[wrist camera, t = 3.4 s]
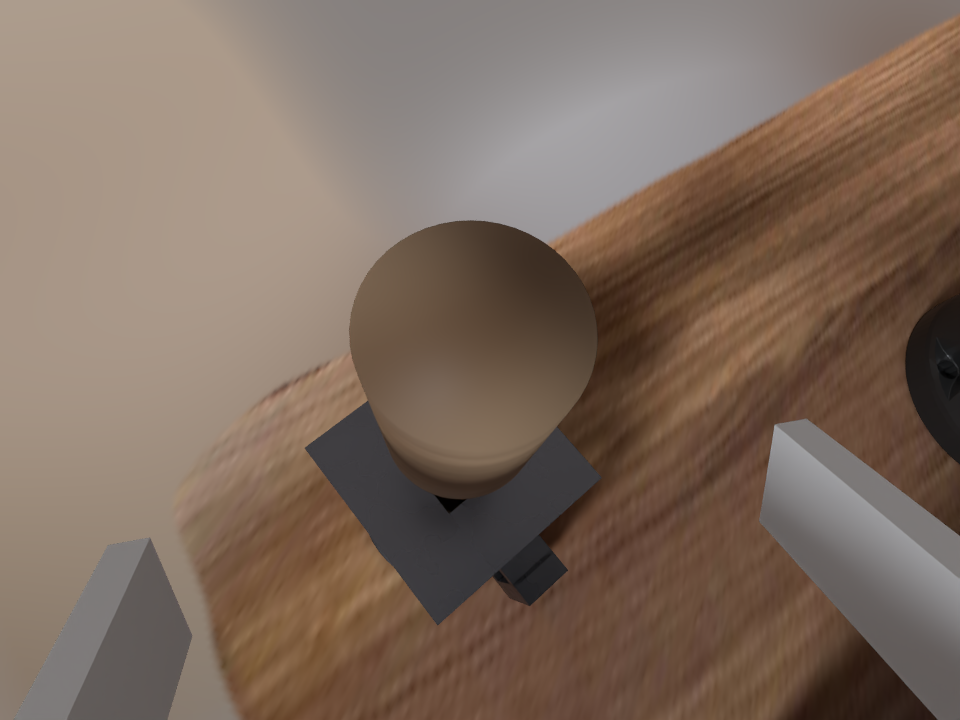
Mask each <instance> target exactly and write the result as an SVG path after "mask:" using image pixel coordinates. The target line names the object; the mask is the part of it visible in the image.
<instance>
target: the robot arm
mask: <svg viewBox="0 0 960 720" xmlns="http://www.w3.org/2000/svg"><path fill="white" fill-rule="evenodd" d="M906 376H907V382H908V387H909V391H910V394H911V397H912V400H913V403H914V405H915V407H916V410H917V412H918V414H919V416H920V417H921V419H922V421H923V423H924V424H925V426H926V428H927V429H928V430H929V432H930V433H931V435H932V436H933V437H934V439H935V440H936V441H937V442H938V443H939V445H940V446H941V447H942V448H943V449H944V450H945V451H946V452H947V453H948V454H949V455H950V456H951V457H952V458H953V459H954V460H955V461H957V462H958V463H959V464H960V294H958V295H956V296H954V297H952V298H950V299H948V300H946V301H945V302H943V303H941V304H939V305H937V306H935V307H934V308H932V309H931V310H930V311H928V312H927V313H926V314H925V315H924V316H923V317H922V318H921V319H920V321H919V322H918V323H917V325H916V327H915V328H914V330H913V332H912V334H911V337H910V340H909V343H908V347H907V352H906ZM759 522H760V523H761V524H762V525H763V526H764V527H765V528H766V529H767V530H768V532H769V533H770V534H771V535H772V536H773V537H774V538H775V539H776V540H777V542H778V543H779V544H780V545H781V546H782V547H783V548H784V549H785V550H786V552H787V553H788V554H789V555H790V556H791V557H792V558H793V559H794V560H795V562H796V563H797V564H798V565H799V566H800V567H801V568H802V569H803V570H804V572H805V573H806V574H807V575H808V576H809V577H810V578H811V579H812V580H813V582H814V583H815V584H816V585H817V586H818V587H819V588H820V589H821V590H822V592H823V593H824V594H825V595H826V596H827V597H828V598H829V599H830V600H831V602H832V603H833V604H834V605H835V606H836V607H837V608H838V609H839V610H840V612H841V613H842V614H843V615H844V616H845V617H846V618H847V619H848V620H849V622H850V623H851V624H852V625H853V626H854V627H855V628H856V629H857V630H858V632H859V633H860V634H861V635H862V636H863V637H864V638H865V639H866V640H867V642H868V643H869V644H870V645H871V646H872V647H873V648H874V649H875V651H876V652H877V653H878V654H879V655H880V656H881V657H882V658H883V659H884V661H885V662H886V663H887V664H888V665H889V666H890V667H891V668H892V669H893V671H894V672H895V673H896V674H897V675H898V676H899V677H900V678H901V679H902V681H903V682H904V683H905V684H906V685H907V686H908V687H909V688H910V689H911V691H912V692H913V693H914V694H915V695H916V696H917V697H918V698H919V699H920V701H921V702H922V703H923V704H924V705H925V706H926V707H927V708H928V709H929V711H930V712H931V713H932V714H933V715H934V716H935V717H936V718H937V719H938V720H960V536H959V535H958V534H957V533H955V532H954V531H953V530H951V529H950V528H949V527H947V526H946V525H945V524H944V523H942V522H941V521H940V520H938V519H937V518H936V517H934V516H933V515H932V514H930V513H929V512H928V511H927V510H925V509H924V508H923V507H921V506H920V505H919V504H917V503H916V502H915V501H913V500H912V499H911V498H909V497H908V496H907V495H906V494H904V493H903V492H902V491H900V490H899V489H898V488H896V487H895V486H894V485H892V484H891V483H890V482H889V481H887V480H886V479H885V478H883V477H882V476H881V475H879V474H878V473H877V472H875V471H874V470H873V469H872V468H870V467H869V466H868V465H866V464H865V463H864V462H862V461H861V460H860V459H858V458H857V457H856V456H855V455H853V454H852V453H851V452H849V451H848V450H847V449H845V448H844V447H843V446H841V445H840V444H839V443H838V442H836V441H835V440H834V439H832V438H831V437H830V436H828V435H827V434H826V433H824V432H823V431H822V430H821V429H819V428H818V427H817V426H815V425H814V424H813V423H811V422H810V421H809V420H807V419H803V420H797V421H792V422H786V423H781V424H775V427H774V433H773V439H772V446H771V452H770V458H769V464H768V471H767V477H766V483H765V489H764V496H763V502H762V508H761V514H760V520H759ZM191 638H192V634H191V632H190V629H189V627H188V625H187V622H186V620H185V618H184V615H183V613H182V611H181V608H180V606H179V604H178V601H177V599H176V597H175V595H174V592H173V590H172V587H171V585H170V583H169V581H168V578H167V576H166V574H165V571H164V569H163V567H162V564H161V562H160V560H159V558H158V555H157V553H156V550H155V548H154V546H153V543H152V541H151V539H150V538H145V539H139V540H134V541H128V542H123V543H117V544H112V545H108V546H107V548H106V550H105V552H104V554H103V555H102V557H101V559H100V561H99V563H98V565H97V567H96V569H95V570H94V572H93V574H92V576H91V578H90V580H89V581H88V583H87V585H86V587H85V589H84V590H83V593H82V594H81V596H80V598H79V600H78V602H77V604H76V605H75V607H74V609H73V611H72V613H71V614H70V616H69V618H68V620H67V622H66V624H65V626H64V628H63V629H62V631H61V633H60V635H59V637H58V639H57V641H56V642H55V644H54V646H53V648H52V650H51V652H50V654H49V655H48V657H47V659H46V661H45V663H44V664H43V666H42V668H41V670H40V672H39V674H38V676H37V677H36V680H35V681H34V683H33V685H32V687H31V689H30V690H29V692H28V694H27V696H26V698H25V700H24V701H23V703H22V705H21V707H20V709H19V711H18V712H17V714H16V716H15V718H14V720H167V718H168V715H169V712H170V708H171V705H172V702H173V698H174V695H175V692H176V689H177V685H178V682H179V679H180V675H181V672H182V669H183V665H184V662H185V659H186V655H187V652H188V649H189V645H190V642H191Z"/></svg>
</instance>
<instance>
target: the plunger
mask: <svg viewBox="0 0 960 720" xmlns="http://www.w3.org/2000/svg"><path fill="white" fill-rule="evenodd" d="M349 334H350V348H351V354H352V359H353V363H354V365H355V368H356V371H357V374H358V377H359V379H360V382H361V384H362V387H363V389H364V392H365V394H366V396H367V399H368V401H369V404H370V406H371V409H372V411H373V414H374V416H375V418H376V421H377V423H378V426H379V428H380V431H381V433H382V435H383V438H384V440H385V443H386V445H387V448H388V450H389V452H390V454H391V456H392V459H393V461H394V462H395V464H396V465H397V467H398V468H399V470H400V471H401V472H402V473H403V474H404V475H405V476H406V477H407V478H408V479H409V480H410V481H411V482H412V483H414V484H415V485H417V486H418V487H420V488H421V489H423V490H425V491H427V492H429V493H431V494H434V495H437V496H440V497H445V498H451V499H470V498H476V497H480V496H484V495H487V494H489V493H492V492H494V491H496V490H498V489H500V488H501V487H503V486H504V485H506V484H507V483H508V482H510V481H511V480H512V479H513V478H514V477H515V476H516V475H517V474H518V473H519V472H520V470H521V469H522V468H523V467H524V466H525V464H526V463H527V462H528V461H529V460H530V458H531V457H532V456H533V455H534V454H535V452H536V451H537V450H538V449H539V447H540V446H541V445H542V444H543V443H544V441H545V440H546V439H547V438H548V437H549V435H550V434H551V433H552V432H553V431H554V429H555V428H556V427H557V426H558V424H559V423H560V422H561V421H562V420H563V418H564V417H565V416H566V415H567V414H568V412H569V411H570V410H571V409H572V407H573V406H574V405H575V403H576V402H577V401H578V400H579V398H580V397H581V395H582V393H583V391H584V390H585V388H586V386H587V384H588V381H589V379H590V376H591V374H592V371H593V368H594V363H595V359H596V353H597V343H598V338H597V324H596V318H595V313H594V309H593V306H592V303H591V300H590V297H589V295H588V293H587V291H586V289H585V287H584V285H583V283H582V282H581V280H580V279H579V277H578V275H577V274H576V272H575V271H574V270H573V269H572V268H571V266H570V265H569V264H568V263H567V262H566V260H565V259H563V258H562V257H561V256H560V255H559V254H558V253H557V252H556V251H555V250H553V249H552V248H551V247H549V246H548V245H547V244H545V243H544V242H542V241H541V240H539V239H537V238H535V237H534V236H532V235H530V234H528V233H526V232H523V231H521V230H518V229H516V228H513V227H509V226H506V225H502V224H498V223H492V222H486V221H455V222H449V223H443V224H439V225H436V226H432V227H428V228H425V229H423V230H421V231H418V232H416V233H414V234H412V235H410V236H408V237H407V238H405V239H403V240H402V241H400V242H398V243H397V244H396V245H394V246H393V247H392V248H390V249H389V250H388V251H387V252H386V253H385V254H384V255H383V256H382V257H381V258H380V259H379V260H378V261H377V262H376V263H375V264H374V266H373V267H372V268H371V269H370V271H369V272H368V273H367V275H366V277H365V279H364V281H363V282H362V284H361V286H360V288H359V290H358V293H357V295H356V298H355V300H354V304H353V308H352V312H351V319H350V328H349Z"/></svg>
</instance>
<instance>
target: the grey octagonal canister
mask: <svg viewBox="0 0 960 720" xmlns="http://www.w3.org/2000/svg"><path fill="white" fill-rule="evenodd" d="M305 449H306V451H307V452H308V453H309V455H310V456H311V457H312V459H313V460H314V461H315V463H316V464H317V465H318V467H319V468H320V469H321V471H322V472H323V473H324V475H325V476H326V477H327V479H328V480H329V481H330V483H331V484H332V485H333V487H334V488H335V489H336V490H337V492H338V493H339V494H340V496H341V497H342V498H343V500H344V501H345V502H346V504H347V505H348V506H349V508H350V509H351V510H352V512H353V513H354V514H355V516H356V517H357V518H358V520H359V521H360V522H361V524H362V525H363V526H364V528H365V529H366V530H367V532H368V533H369V535H370V537H371V539H372V541H373V543H374V545H375V546H376V548H377V549H378V551H379V552H380V553H381V554H382V556H383V557H384V558H385V559H386V560H387V561H388V562H389V563H390V564H391V565H392V566H394V568H395V569H396V570H397V572H398V573H399V574H400V576H401V577H402V578H403V580H404V581H405V582H406V584H407V585H408V586H409V588H410V589H411V590H412V592H413V593H414V594H415V596H416V597H417V598H418V600H419V601H420V602H421V604H422V605H423V606H424V608H425V609H426V610H427V612H428V613H429V614H430V616H431V617H432V618H433V620H434V621H435V622H436V624H437V625H439V624H440V623H441V622H442V621H443V620H444V619H445V618H446V617H447V616H449V615H450V614H451V613H452V612H453V611H454V610H455V609H456V608H457V607H459V606H460V605H461V604H462V603H463V602H464V601H465V600H466V599H468V598H469V597H470V596H471V595H472V594H473V593H474V592H475V591H476V590H478V589H479V588H480V587H481V586H482V585H483V584H484V583H485V582H486V581H488V580H489V579H490V578H491V577H492V576H493V578H494V579H495V580H496V581H497V583H498V584H499V585H500V587H501V588H502V589H503V590H504V592H505V593H506V594H507V595H508V597H509V598H510V599H513V600H516V601H518V602H521V603H523V604H526V605H528V606H530V605H531V604H532V603H534V602H535V601H536V600H537V599H538V598H539V597H540V596H541V595H542V594H543V593H544V592H545V591H546V590H547V589H548V588H550V587H551V586H552V585H553V584H554V583H555V582H556V581H557V580H558V579H559V578H560V577H561V576H562V575H563V574H564V573H566V572H567V571H568V570H567V568H566V567H565V566H564V565H563V563H562V562H561V561H560V560H559V559H558V557H557V556H556V555H555V554H554V553H553V551H552V550H551V549H550V548H549V547H548V545H547V544H546V543H545V542H544V541H543V539H542V538H541V537H540V536H539V534H540V533H541V532H542V531H543V530H544V529H545V528H546V527H548V526H549V525H550V524H551V523H552V522H553V521H554V520H555V519H556V518H558V517H559V516H560V515H561V514H562V513H563V512H564V511H565V510H566V509H568V508H569V507H570V506H571V505H572V504H573V503H574V502H575V501H576V500H578V499H579V498H580V497H581V496H582V495H583V494H584V493H585V492H586V491H588V490H589V489H590V488H591V487H592V486H593V485H594V484H595V483H596V482H598V481H599V480H600V479H601V478H602V477H601V476H600V475H599V474H598V473H597V472H596V471H595V469H594V468H593V467H592V466H591V465H590V464H589V463H588V461H587V460H586V459H585V458H584V457H583V456H582V455H581V453H580V452H579V451H578V450H577V449H576V448H575V447H574V446H573V444H572V443H571V442H570V441H569V440H568V439H567V438H566V436H565V435H564V434H563V433H562V432H561V431H560V430H559V428H558V427H556V428H555V429H554V431H553V432H552V433H551V434H550V435H549V437H548V438H547V439H546V440H545V441H544V443H543V444H542V445H541V446H540V447H539V449H538V450H537V451H536V452H535V454H534V455H533V456H532V457H531V458H530V460H529V461H528V462H527V463H526V464H525V466H524V467H523V468H522V469H521V470H520V472H519V473H518V474H517V475H516V476H515V477H514V478H513V479H512V480H511V481H510V482H508V483H507V484H506V485H504V486H503V487H501V488H500V489H498V490H496V491H494V492H492V493H489V494H487V495H484V496H480V497H476V498H470V499H451V498H445V497H440V496H437V495H434V494H431V493H429V492H427V491H425V490H423V489H421V488H420V487H418V486H417V485H415V484H414V483H412V482H411V481H410V480H409V479H408V478H407V477H406V476H405V475H404V474H403V473H402V472H401V471H400V470H399V468H398V467H397V465H396V464H395V462H394V461H393V459H392V456H391V454H390V452H389V450H388V448H387V445H386V443H385V440H384V438H383V435H382V433H381V431H380V428H379V426H378V423H377V421H376V418H375V416H374V414H373V411H372V409H371V406H370V404H369V401H367V402H366V403H364V404H363V405H362V406H360V407H359V408H358V409H356V410H355V411H354V412H352V413H351V414H350V415H348V416H347V417H345V418H344V419H343V420H341V421H340V422H339V423H337V424H336V425H335V426H333V427H332V428H331V429H329V430H328V431H327V432H325V433H324V434H323V435H321V436H320V437H319V438H317V439H316V440H315V441H313V442H312V443H311V444H309V445H308V446H307V447H305Z"/></svg>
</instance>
